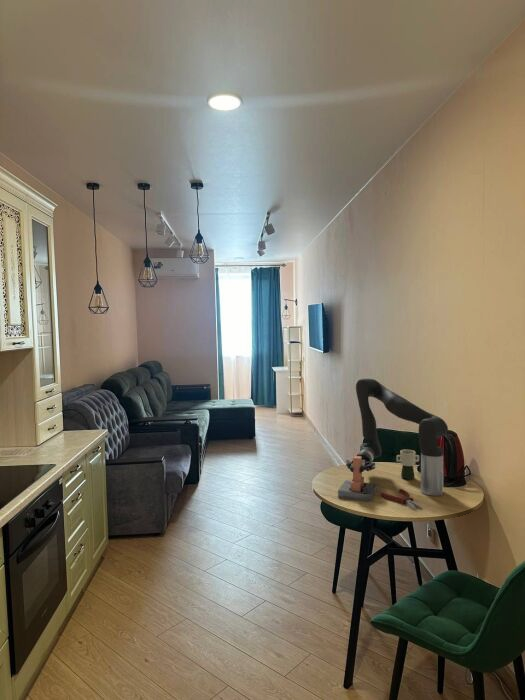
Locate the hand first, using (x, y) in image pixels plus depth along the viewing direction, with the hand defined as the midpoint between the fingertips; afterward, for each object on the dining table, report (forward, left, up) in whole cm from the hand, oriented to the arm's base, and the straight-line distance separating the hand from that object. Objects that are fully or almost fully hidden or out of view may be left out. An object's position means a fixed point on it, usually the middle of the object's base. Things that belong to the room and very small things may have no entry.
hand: (356, 470), depth 200 cm
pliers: (-18, -1, -12) cm, 22 cm away
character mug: (-18, -33, -12) cm, 39 cm away
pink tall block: (0, -3, -10) cm, 10 cm away
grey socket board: (0, -3, -11) cm, 12 cm away
